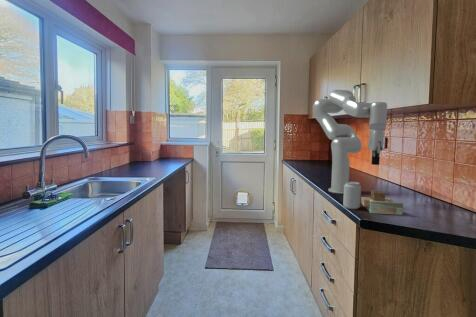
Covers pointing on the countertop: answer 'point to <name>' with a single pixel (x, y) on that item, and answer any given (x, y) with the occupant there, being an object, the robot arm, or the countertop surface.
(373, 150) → the robot arm
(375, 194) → the block
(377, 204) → the deck
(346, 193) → the can
